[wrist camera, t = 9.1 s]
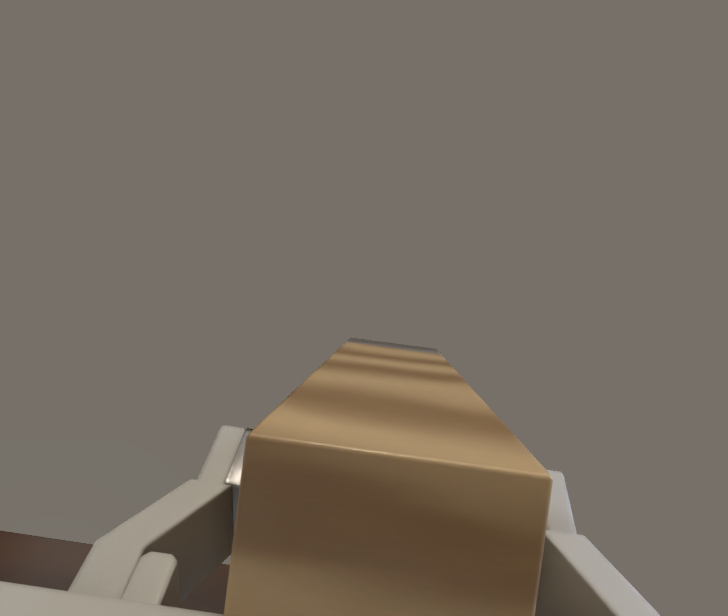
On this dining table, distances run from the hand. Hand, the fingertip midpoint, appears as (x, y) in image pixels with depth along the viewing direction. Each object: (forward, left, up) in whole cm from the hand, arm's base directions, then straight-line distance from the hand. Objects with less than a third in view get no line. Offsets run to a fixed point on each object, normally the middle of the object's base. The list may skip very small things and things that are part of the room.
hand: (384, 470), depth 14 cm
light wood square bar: (+6, 0, -2) cm, 6 cm away
